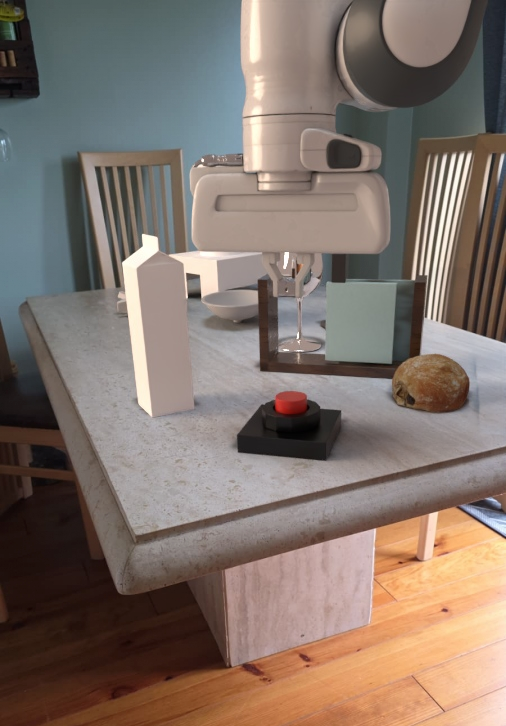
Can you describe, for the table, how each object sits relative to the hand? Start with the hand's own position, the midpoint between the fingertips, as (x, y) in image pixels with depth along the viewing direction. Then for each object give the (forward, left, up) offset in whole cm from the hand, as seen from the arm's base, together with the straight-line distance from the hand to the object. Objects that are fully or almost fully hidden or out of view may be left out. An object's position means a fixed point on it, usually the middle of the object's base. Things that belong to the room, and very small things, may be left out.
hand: (288, 296), depth 66 cm
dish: (+25, -57, -17) cm, 64 cm away
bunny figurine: (+50, -62, -17) cm, 81 cm away
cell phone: (0, -57, -17) cm, 59 cm away
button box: (0, 0, -16) cm, 16 cm away
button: (0, 0, -13) cm, 13 cm away
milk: (+19, -7, -17) cm, 26 cm away
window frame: (-1, -28, -16) cm, 33 cm away
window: (-4, -27, -15) cm, 31 cm away
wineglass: (+8, -40, -17) cm, 44 cm away
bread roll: (-15, -17, -17) cm, 28 cm away
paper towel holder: (+38, -86, -17) cm, 95 cm away
